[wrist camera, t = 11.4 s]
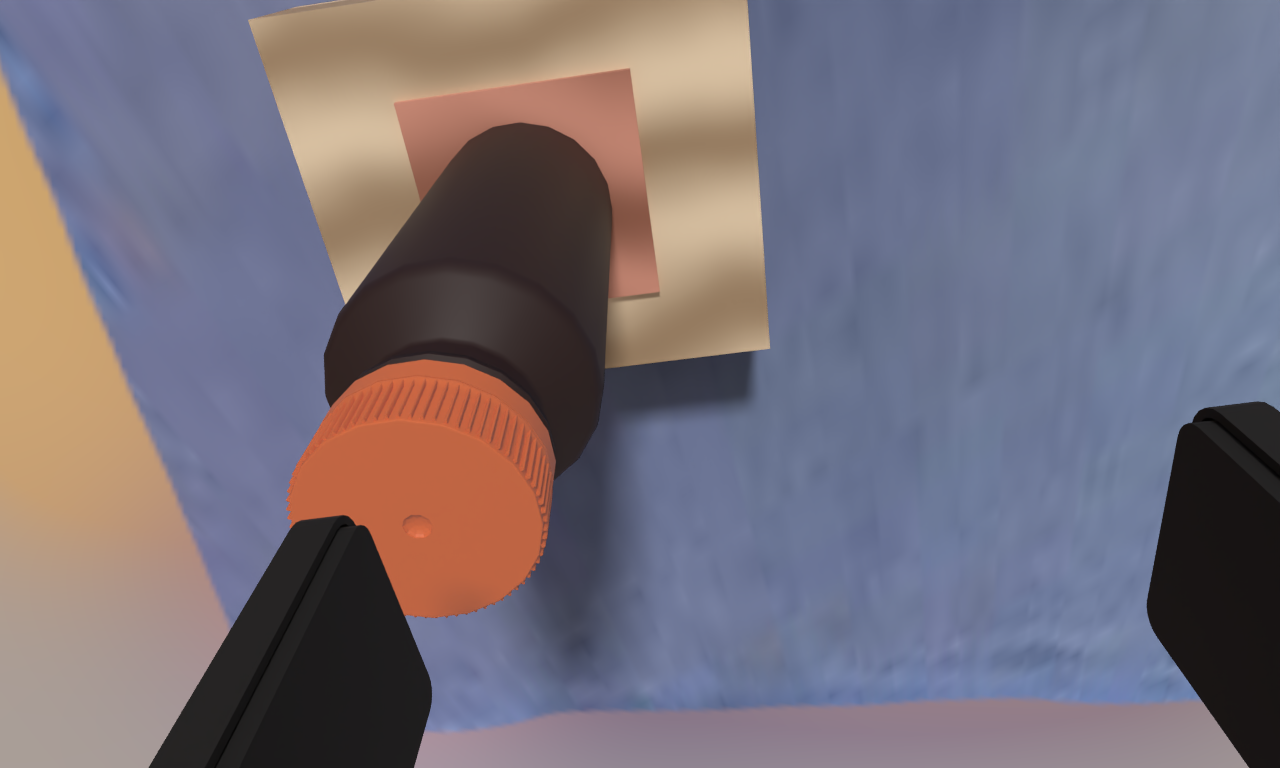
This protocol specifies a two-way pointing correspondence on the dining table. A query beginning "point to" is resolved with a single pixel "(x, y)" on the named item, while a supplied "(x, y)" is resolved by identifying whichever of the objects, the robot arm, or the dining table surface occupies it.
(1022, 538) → the dining table surface
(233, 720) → the robot arm
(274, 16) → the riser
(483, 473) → the vinegar
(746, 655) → the dining table surface
